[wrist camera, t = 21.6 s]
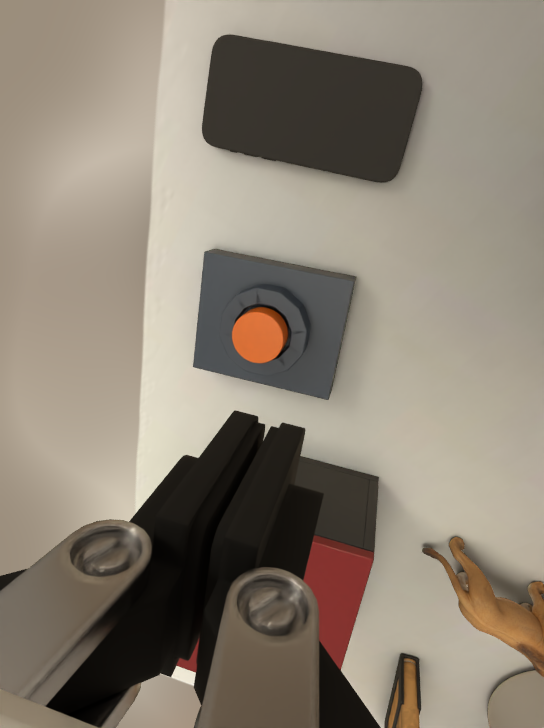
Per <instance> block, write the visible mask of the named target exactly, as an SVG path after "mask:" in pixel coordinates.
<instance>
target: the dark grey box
mask: <svg viewBox="0 0 544 728" xmlns="http://www.w3.org/2000/svg"><path fill="white" fill-rule="evenodd" d="M378 480H379V477H376V476H372V475H368V474H365V473H361V472H357V471H353V470H350V469H346V468H342V467H338V466H335V465H331V464H327V463H323V462H320V461H316V460H312V459H308V458H305V457H301V456H300V459H299V464H298V469H297V474H296V479H295V484H294V485H297V486H300V487H304V488H308V489H311V490H315V491H318V492H322V493H324V496H323V500H322V504H321V508H320V513H319V517H318V521H317V526H316V530H315V534H314V535H316V536H320V537H323V538H326V539H330V540H333V541H337V542H340V543H343V544H347V545H350V546H354V547H357V548H360V549H364V550H367V551H371V552H373V553H374V548H375V531H376V514H377V498H378Z"/></svg>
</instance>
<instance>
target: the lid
mask: <svg viewBox="0 0 544 728" xmlns="http://www.w3.org/2000/svg"><path fill="white" fill-rule="evenodd" d="M373 560H374V553H373V552H371V551H367V550H364V549H360V548H357V547H354V546H350V545H347V544H343V543H340V542H337V541H333V540H330V539H326V538H323V537H320V536H316V535H314V538H313V543H312V547H311V551H310V555H309V559H308V564H307V568H306V572H305V576H304V580H303V581H304V582H305V583H306V584H307V585H308V586H309V587H310V588H311V590H312V592H313V594H314V595H315V597H316V599H317V603H318V609H319V641H320V642H321V643H322V645H323V646H324V648H325V649H326V651H327V652H328V653H329V655H330V656H331V658H332V659H333V661H334V662H335V663H336V665H337V666H338V668H339V669H340V671H341V667H342V664H343V661H344V657H345V654H346V651H347V647H348V644H349V641H350V637H351V634H352V631H353V627H354V624H355V621H356V617H357V614H358V610H359V607H360V604H361V600H362V597H363V594H364V590H365V587H366V584H367V580H368V577H369V574H370V570H371V567H372V564H373ZM198 644H199V640H198V642H197V645H196V647H195V649H194V651H193V654H192V656H191V658H190V659H189V660H188V661H186V660H183V659H181V658H180V659H179V661H178V663H177V665H176V666H179V667H182V668H185V669H187V670H190V671H193V672H196V669H197V664H196V659H197V652H198ZM201 709H202V706H201V707H200V710H199V713H198V715H197V718H196V722H195V726H194V728H197V727H198V722H199V718H200V713H201Z"/></svg>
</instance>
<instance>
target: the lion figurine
mask: <svg viewBox="0 0 544 728" xmlns="http://www.w3.org/2000/svg"><path fill="white" fill-rule="evenodd" d="M449 547H450V550H451V552H452V554H453V556H454V558H455V559H456V560H457V561H458V562H459V563H460V564H461V565H462V567H463V569H464V570H465V572H460V573H458V574H457V575H455V573H454V571H453V570H452V568H451V566H450V565H449V563H448V562H447V560H446V559H445V558H444V557H443V556H442V555H440V554H439V553H438V552H436V551H435V550H433V549H432V548H423V549H422V552H423V553H424V554H426V555H428V556H431V557H432V558H435V559H438V560H439V561H440V562H441V563H442V564H443V566H444V568H445V569H446V571H447V573H448V576H449V578H450V580H451V583H452V585H453V587H454V590H455V592H456V594H457V596H458V598H459V608H460V611H461V612H462V614H463V616H464V617H465V618H466V619H467V620H468V621H469V622H470V623H471V624H472V625H473V626H474V627H475V628H476V629H478V630H479V631H482V632H485V633H487V634H490V635H493V636H495V637H496V638H498V639H500V640H501V641H503V642H505V643H506V644H508V645H509V646H511V647H512V648H514V649H516V650H517V651H519V652H521V653H522V654H523V655H525V656H526V657H527V658H528V659H529V660H530V661H531V662H532V664H533V666H534V668H535V670H536V671H537V672H538V673H539V674H540V675H541V676H542V677H544V600H543V598H542V597H541V594H543V593H544V585H543V583H542V582H533V583H531V584H530V585H529V586H528V593H529V596H530V597H531V599H532V601H533V606H532V605H530V604H528V603H522V604H520V605H519V604H517V603H515V602H513V601H511V600H509V599H506V598H502V597H495V595H494V592H493V589H492V587H491V585H490V583H489V582H488V580H487V579H486V577H485V575H484V574H483V573H482V571H481V570H480V569H479V568H478V567H477V566H476V565H475V564H474V563H473V562H472V561H471V560H470V559H469V558H468V557H467V556H466V555H465V554H464V553H463V552H462V551H461V550H463V549H464V542H463V540H462V539H461V538H458V537H455V538H453V539H452V540H451V541H450V543H449ZM467 584H468V587H467Z"/></svg>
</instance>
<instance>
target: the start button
mask: <svg viewBox="0 0 544 728" xmlns="http://www.w3.org/2000/svg"><path fill="white" fill-rule="evenodd" d="M287 339H288V329H287V325H286V323H285V321H284V319H283V318H282V316H281V315H280V314H279V313H277V312H276V311H274V310H272V309H270V308H266V307H257V308H253V309H251V310H249V311H248V312H246V313H245V314H244V315H243V316H241V317H240V318H239V319H238V320H237V321H236V323H235V325H234V327H233V331H232V340H233V344H234V347H235V349H236V350H237V352H238V353H239V354H240V355H241V356H242V357H243V358H244V359H246V360H248V361H250V362H254V363H266V362H269V361H271V360H273V359H274V358H276V357H277V356H278V354H279V353H280V352H281V350H282V349H283V348H284V346H285V344H286V342H287Z"/></svg>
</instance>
